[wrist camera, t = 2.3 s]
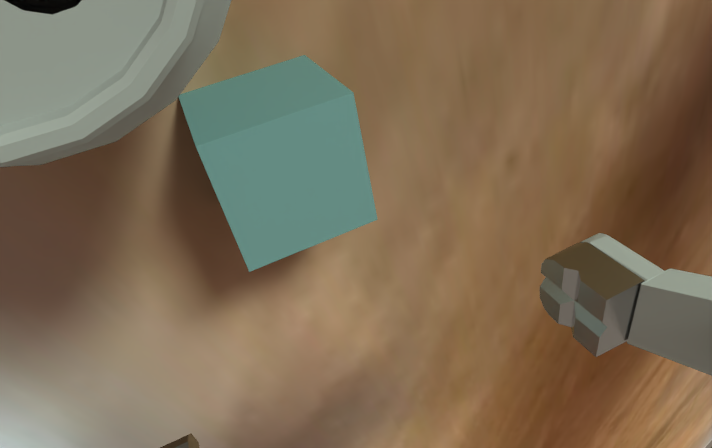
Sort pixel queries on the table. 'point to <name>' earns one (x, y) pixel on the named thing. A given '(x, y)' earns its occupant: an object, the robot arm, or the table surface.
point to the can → (94, 69)
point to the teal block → (282, 157)
